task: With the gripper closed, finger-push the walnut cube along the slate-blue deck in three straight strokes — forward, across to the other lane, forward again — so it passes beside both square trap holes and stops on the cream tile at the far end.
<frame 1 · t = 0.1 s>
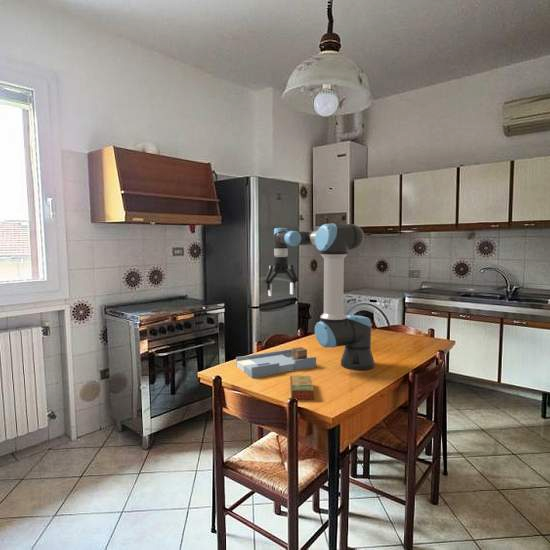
hand: (281, 295, 219), 28 cm above the table, tool pointing down, fingers open, 13 cm apart
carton: (301, 393, 152), on the table
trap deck: (276, 366, 183), on the table
block: (299, 359, 184), point 3 cm above the table, touching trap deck
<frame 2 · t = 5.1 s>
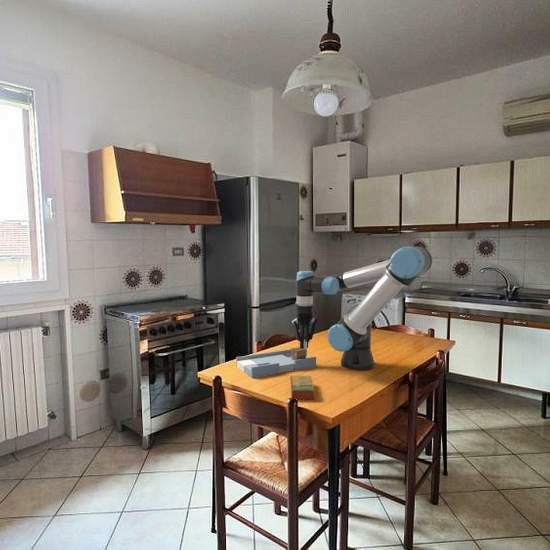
hand: (304, 355, 185), 5 cm above the table, tool pointing down, fingers closed
block: (298, 359, 184), point 3 cm above the table, touching gripper
everything else where it was.
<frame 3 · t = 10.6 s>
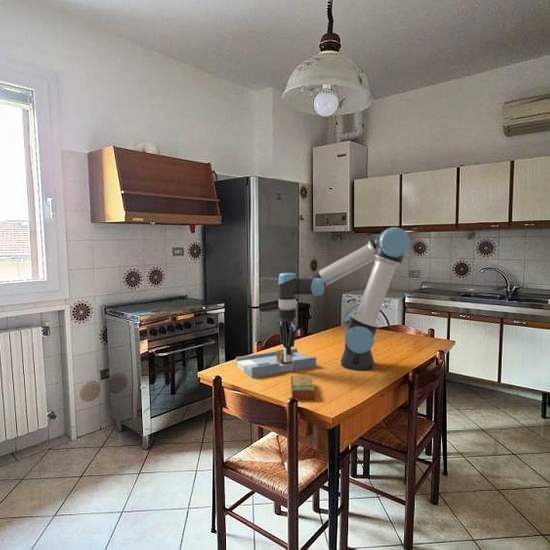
hand: (287, 361, 176), 4 cm above the table, tool pointing down, fingers closed
block: (283, 361, 180), point 3 cm above the table, touching gripper, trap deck
everything else where it was.
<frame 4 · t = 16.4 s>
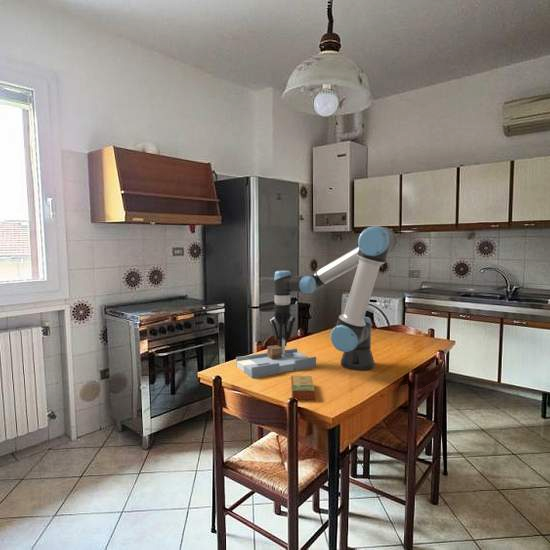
hand: (282, 353, 189), 5 cm above the table, tool pointing down, fingers closed
block: (274, 357, 187), point 3 cm above the table, touching gripper, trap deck
everything else where it was.
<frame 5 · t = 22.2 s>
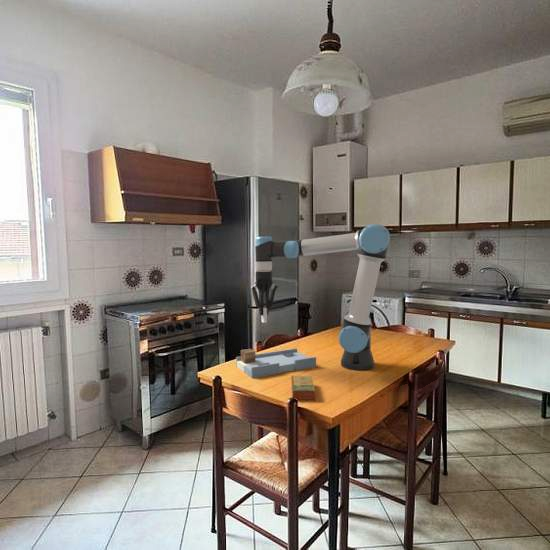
hand: (264, 322, 183), 20 cm above the table, tool pointing down, fingers closed
block: (248, 361, 181), point 3 cm above the table, touching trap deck
everything else where it was.
at the end: block inside the target area (0.8 cm from its centre), point 3.0 cm above the table; block tilted 0° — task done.
